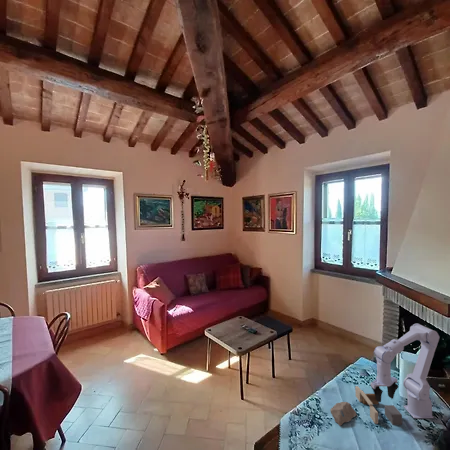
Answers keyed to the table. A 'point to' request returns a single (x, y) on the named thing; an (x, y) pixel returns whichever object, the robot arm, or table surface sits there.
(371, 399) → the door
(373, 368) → the table surface
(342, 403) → the concrete fragment
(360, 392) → the wall frame
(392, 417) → the grey rectangular block
